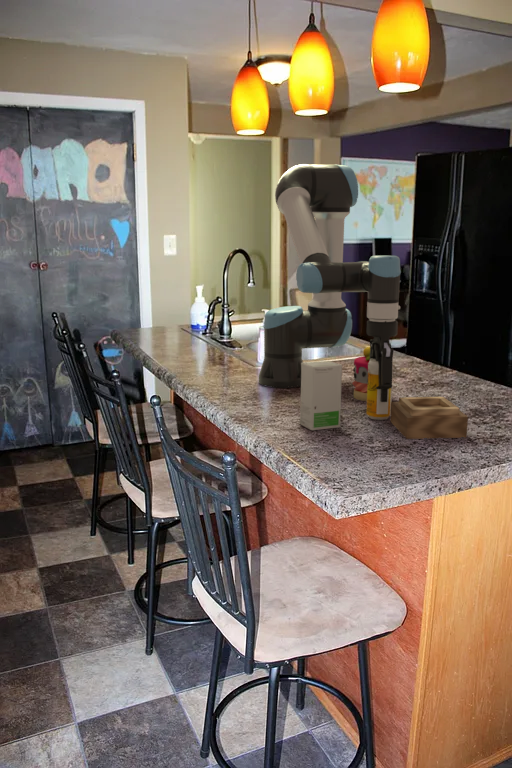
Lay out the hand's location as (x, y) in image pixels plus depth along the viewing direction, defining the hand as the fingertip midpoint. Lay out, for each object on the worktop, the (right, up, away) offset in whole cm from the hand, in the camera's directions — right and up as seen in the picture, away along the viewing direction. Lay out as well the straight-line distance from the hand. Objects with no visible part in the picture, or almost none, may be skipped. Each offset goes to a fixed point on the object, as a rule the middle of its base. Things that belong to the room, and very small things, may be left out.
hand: (378, 409), depth 167 cm
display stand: (+10, -4, -10) cm, 14 cm away
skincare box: (-16, -4, -6) cm, 17 cm away
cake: (+2, +3, +20) cm, 20 cm away
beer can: (0, -2, +1) cm, 2 cm away
